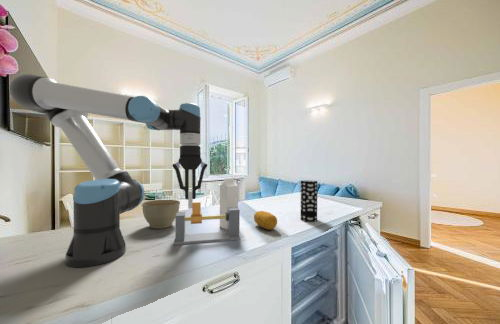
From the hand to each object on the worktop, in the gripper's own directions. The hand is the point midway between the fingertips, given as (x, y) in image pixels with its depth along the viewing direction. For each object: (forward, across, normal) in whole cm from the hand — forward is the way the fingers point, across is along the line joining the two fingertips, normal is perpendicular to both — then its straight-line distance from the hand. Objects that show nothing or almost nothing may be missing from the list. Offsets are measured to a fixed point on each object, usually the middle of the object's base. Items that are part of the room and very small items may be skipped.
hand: (190, 207), depth 80 cm
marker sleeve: (+6, +2, 0) cm, 6 cm away
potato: (+13, +32, +8) cm, 36 cm away
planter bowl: (+12, -14, +21) cm, 28 cm away
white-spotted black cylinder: (+13, +58, +16) cm, 62 cm away
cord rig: (+12, +6, 0) cm, 14 cm away
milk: (+13, +16, +13) cm, 24 cm away
